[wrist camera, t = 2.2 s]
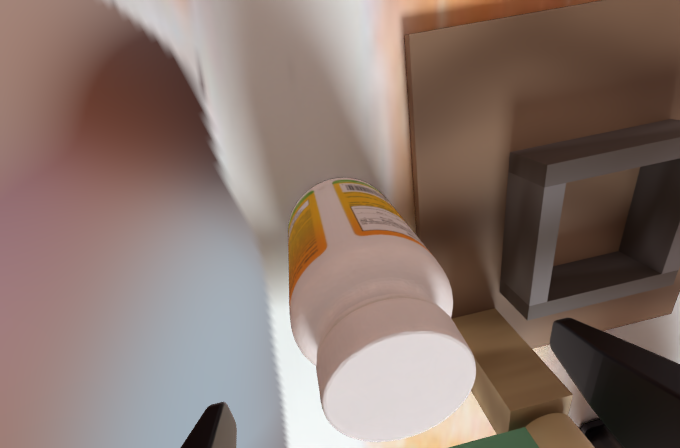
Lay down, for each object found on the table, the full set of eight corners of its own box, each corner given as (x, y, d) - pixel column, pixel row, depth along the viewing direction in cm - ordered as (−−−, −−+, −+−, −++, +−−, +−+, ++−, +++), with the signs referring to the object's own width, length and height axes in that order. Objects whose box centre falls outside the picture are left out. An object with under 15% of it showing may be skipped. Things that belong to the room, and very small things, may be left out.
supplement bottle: (312, 284, 18) (338, 484, 9) (269, 200, 15) (248, 364, 7) (402, 247, 18) (516, 415, 9) (373, 158, 15) (489, 268, 7)
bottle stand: (662, 308, 23) (790, 387, 17) (425, 367, 22) (476, 475, 16) (786, -32, 15) (1129, -104, 9) (404, 35, 13) (499, 5, 7)
